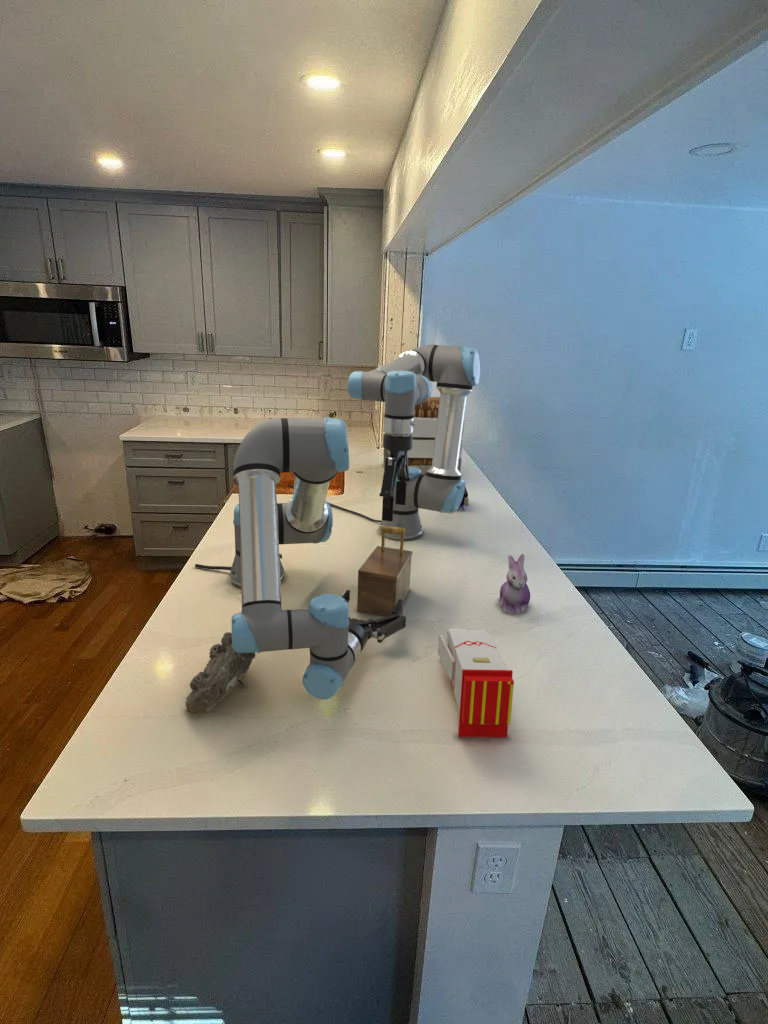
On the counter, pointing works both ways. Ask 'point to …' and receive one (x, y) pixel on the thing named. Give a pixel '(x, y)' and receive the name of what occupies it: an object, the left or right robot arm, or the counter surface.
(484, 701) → the toy
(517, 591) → the figurine
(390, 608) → the chest
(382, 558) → the lid
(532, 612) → the counter surface
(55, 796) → the counter surface
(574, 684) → the counter surface
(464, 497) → the figurine character
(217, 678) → the fossil
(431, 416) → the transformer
